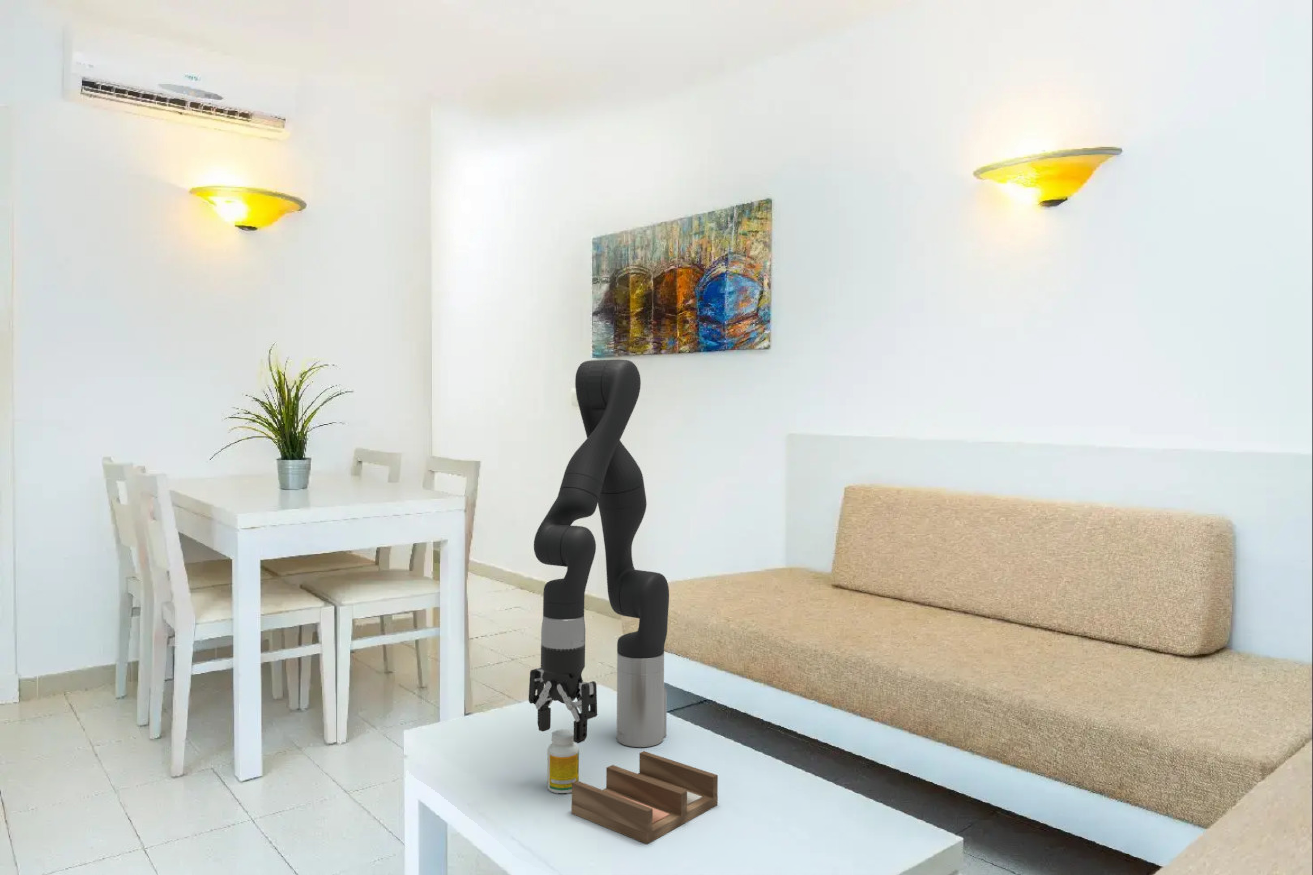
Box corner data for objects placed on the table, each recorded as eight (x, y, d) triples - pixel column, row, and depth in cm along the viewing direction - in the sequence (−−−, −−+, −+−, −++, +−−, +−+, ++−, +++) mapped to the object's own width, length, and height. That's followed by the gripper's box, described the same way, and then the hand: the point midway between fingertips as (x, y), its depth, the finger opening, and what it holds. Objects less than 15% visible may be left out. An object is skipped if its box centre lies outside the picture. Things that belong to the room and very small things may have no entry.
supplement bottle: (543, 785, 163) (543, 730, 162) (572, 779, 165) (572, 725, 165) (553, 797, 158) (553, 740, 158) (583, 791, 160) (583, 736, 160)
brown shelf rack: (643, 778, 166) (644, 751, 166) (717, 804, 156) (717, 775, 155) (571, 813, 152) (571, 782, 152) (646, 844, 142) (647, 811, 142)
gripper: (608, 645, 159) (607, 740, 159) (550, 631, 168) (548, 721, 168) (577, 653, 153) (575, 752, 154) (518, 638, 162) (517, 731, 163)
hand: (561, 735), depth 161 cm, fingers open, 8 cm apart
